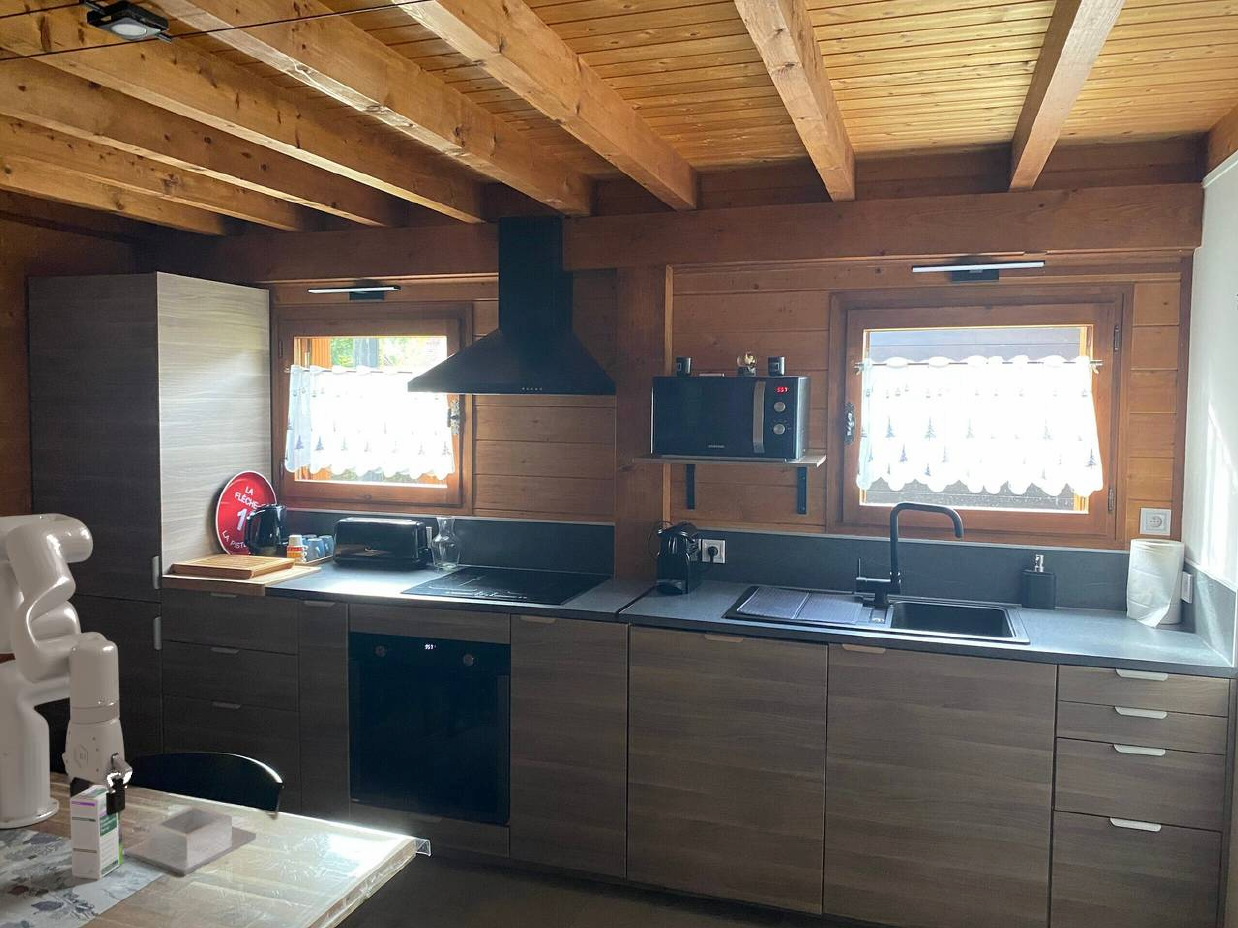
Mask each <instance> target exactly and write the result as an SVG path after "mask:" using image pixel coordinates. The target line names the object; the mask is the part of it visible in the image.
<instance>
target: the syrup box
mask: <svg viewBox="0 0 1238 928" xmlns="http://www.w3.org/2000/svg"><path fill="white" fill-rule="evenodd" d="M108 792H109V791H108V789H107V787H106V785H105V784H104V785H103V784H93V785H92V786H90V787H89V789H87V790H85V791H83V792H81V793H79V794H77V795H76V796H73V797H71V798H70V797H69V814H70V817H69V818H70V837H71V838H70V840H71V843H70V844H71V867H72V869H71V870H72V871H71V873H72V876H73V877H78V878H82V879H89V880H99V881H100V880H101V879H103V877H105V876H107V875H108V874H110V873H111V872H112V871H114V870H115V869H118V868H119V867H121V866H122V865H123V864H124V863H123V862H124V861H123V837H122V836H123V835H122V834H123V832H122V830H123V829H122V825H123V824H122V811H120V812H118V813H115V814H113V815H111V816H109V815H107V814H106V793H108Z"/></svg>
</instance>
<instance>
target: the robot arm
mask: <svg viewBox="0 0 1238 928" xmlns="http://www.w3.org/2000/svg"><path fill="white" fill-rule="evenodd" d="M93 542H94V541H93V537H92V534H91V531H90V530H89V528H88V527H87V525H85V524H84V523H83V522H82V521H81V520H79V519H77V518H75V517H72V516H69V515H68V516H67V515H64V514H60V513H43V514H26V515H11V516H10V515H9V516H0V655H2V654H3V655H4V654H5V655H6V654H13V656H14V658H15V659H12V660H7V661H5V662H1V663H0V829H14V828H22V827H26V826H31V825H33V824H37V823H40V822H43V821H45V820H47V819H49V818H51V817H53V816H54V815H55V814H57V813H58V811H59V810H60V802H59V800H57V798H54V797H51V787H50V786H51V783H50V782H51V780H50V779H51V778H50V776H51V775H50V728H49V724H48V722H47V720H46V719H45V718H44V716H42V715H41V714H40V713H38V712H37V711H36V710H35V708H34V707H35V706H38V705H43V704H45V703H49V702H53V701H58V700H59V701H60V700H63V699H68V698H69V707H70V709H69V710H70V711H69V713H70V719H69V721H68V725H67V730H66V740H65V752H64V753H62V755H61V757H62V760H63V763H64V765H65V766H64V770H65V772H66V774H67V775H68V776H67V781H68V783H69V799H70V798H71V797H73V796H76V795H77V794H79V793H81V792H83V791H85V790H87V789H89V788H90V782H92V783H97V784H98V783H102V782H103V784H104V785H106V787H107V789H108V791H109V792H108V793H106V814H107V815H109V816H111V815H113V814H115V813H118V812H120V811H121V812H123V811H124V810H125V809H126V789H127V787H128V784H129V782H130V781H131V780H130V779H131V775H132V773H133V768H132V766H130V765H129V763H128V762H126V761H125V749H124V748H125V747H124V739H123V738H124V737H123V732H122V731H123V730H122V726H121V721H120V719H119V718H120V693H119V691H120V688H119V686H120V685H119V683H120V682H119V654H118V653H119V652H118V646H117V645H116V643H115V642H113V641H111V640H108V639H107V638H106V637H105V636H104V635H103V634H101V633H100V632H95V631H89V632H83V633H82V632H81V631H82V630H81V624H80V619H79V618H80V617H79V616H78V613H77V610H76V608H75V607H74V605H73V604H72V603H71V602H70V601H68V600H69V599H71V597H72V596H73V595H74V593H75V592H76V589H77V588H76V586H77V585H76V582H75V580H74V577H73V575H72V572H71V571H70V569H69V566H68V564H69V563H78V562H83V561H86V560H88V558H89V557H90V556H91V555H92V551H93V547H94V543H93ZM113 779H115V780H116V781H115V782H114V783H113V781H112V780H113Z"/></svg>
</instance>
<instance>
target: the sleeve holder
mask: <svg viewBox="0 0 1238 928" xmlns="http://www.w3.org/2000/svg"><path fill="white" fill-rule="evenodd" d="M256 839H257V835H256V833H255V832H251V831H249V830H245V829H242V828H239V827H235V826H233V816H232V815H230V814H229V815H228V814H226V813H222V812H219V811H217V810H213V809H210V808H206V807H202V806H199V805H196V804H195V805H193V806H190V807H188V808H186V809H183V810H182V811H178V812H176V813H175V814H173V815H170V816H168V817H166V818H163V819H162V820H159V821H157V822H154V823H152V824H150V825H149V837H148V838H146V839H144V840H142V841H140V842H137V843H135V844H132V845H131V846H129V847H126V848H125V849H124V850H123V851H124V852H123V853H124V856H128V857H130V858H132V859H135V860H139V861H141V862H144V863H147V864H150V865H152V866H155V867H159V868H161V869H164V870H167V871H169V872H173V873H175V874H177V875H178V874H179V875H180V876H184V877H185V876H187V875H189V874H192V873H193V872H195V871H197V870H199V869H200V868H202V867H205V866H207V865H209V864H210V863H212V862H214V861H217V860H218V859H220V858H222V857H223V856H226V855H228V854H229V853H232V852H234V851H235V850H238V849H239V848H241V847H242V846H245V845H247V844H248V843H250V842H252V841H254V840H256Z"/></svg>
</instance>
